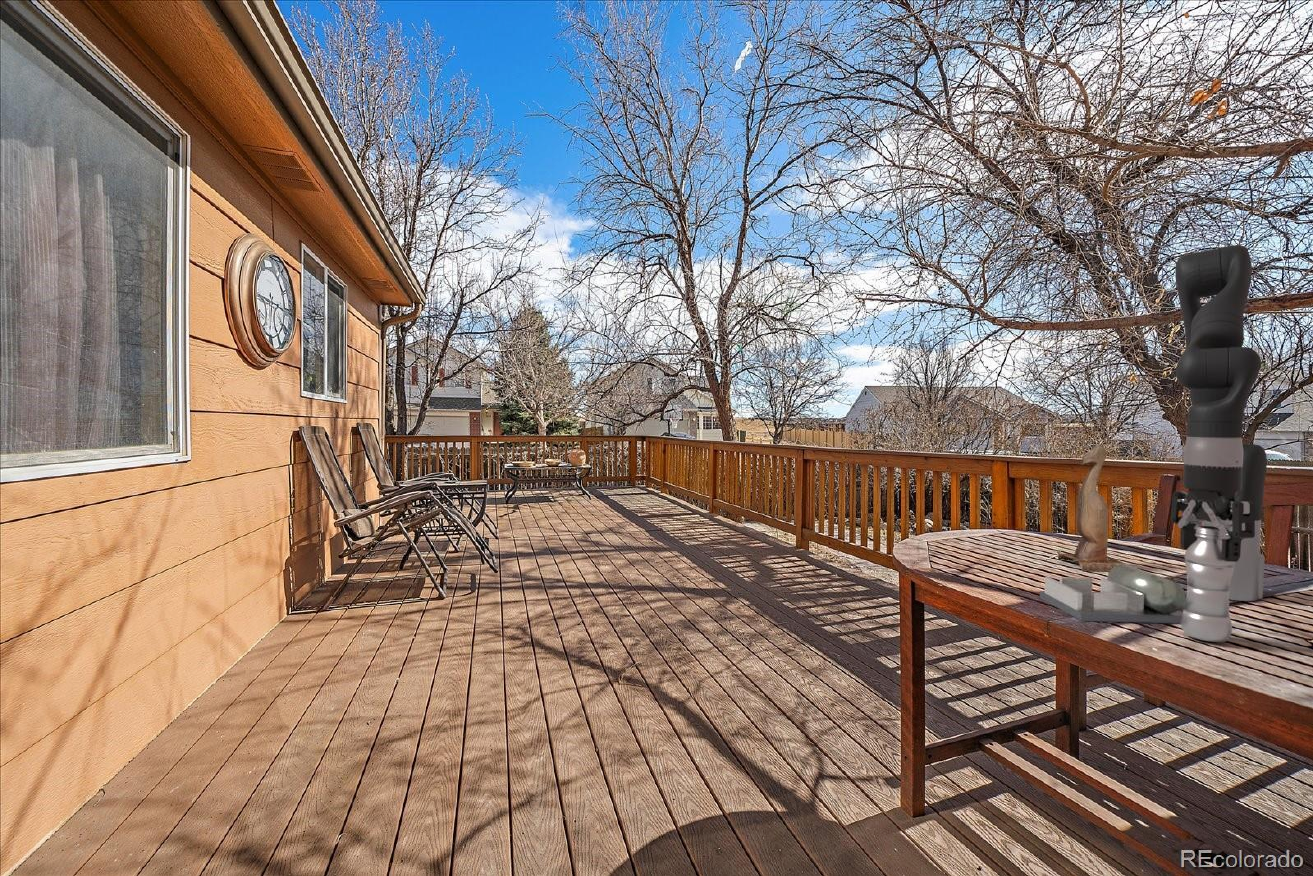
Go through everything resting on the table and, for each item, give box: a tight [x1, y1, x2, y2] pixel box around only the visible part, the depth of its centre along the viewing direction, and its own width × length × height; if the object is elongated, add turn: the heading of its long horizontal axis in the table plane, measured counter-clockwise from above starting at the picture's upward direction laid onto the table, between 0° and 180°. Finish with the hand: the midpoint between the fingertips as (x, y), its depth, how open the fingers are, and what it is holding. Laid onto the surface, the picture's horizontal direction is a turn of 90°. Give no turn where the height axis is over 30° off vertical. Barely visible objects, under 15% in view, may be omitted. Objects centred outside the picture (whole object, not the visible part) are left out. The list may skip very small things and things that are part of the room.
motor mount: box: [1039, 563, 1186, 624], centre depth 120 cm, size 20×14×8 cm
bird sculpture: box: [1057, 444, 1127, 573], centre depth 152 cm, size 11×12×32 cm
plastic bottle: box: [1180, 525, 1235, 643], centre depth 104 cm, size 6×7×20 cm
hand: (1208, 555), depth 104 cm, fingers open, 8 cm apart
